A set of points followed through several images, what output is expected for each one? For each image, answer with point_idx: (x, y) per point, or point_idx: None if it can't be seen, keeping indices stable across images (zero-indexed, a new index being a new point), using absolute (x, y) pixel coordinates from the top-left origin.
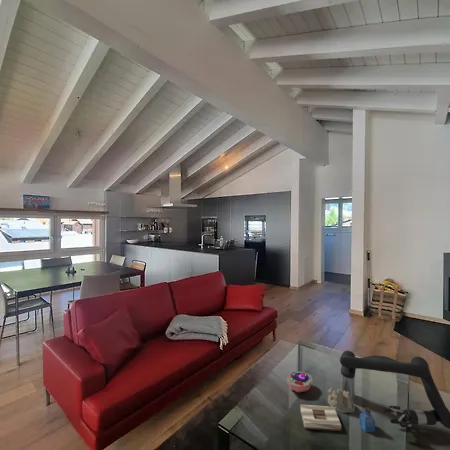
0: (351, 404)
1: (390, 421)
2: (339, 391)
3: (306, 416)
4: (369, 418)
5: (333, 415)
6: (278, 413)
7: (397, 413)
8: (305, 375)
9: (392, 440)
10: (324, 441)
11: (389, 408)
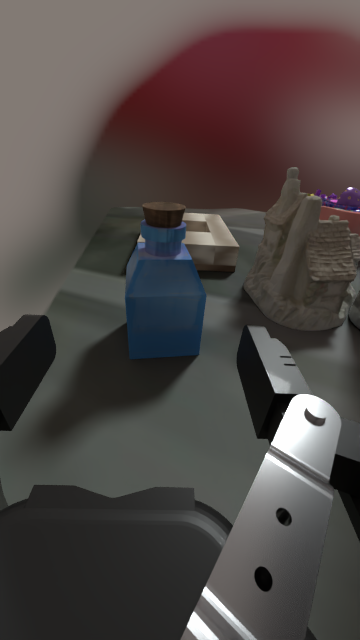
0: (298, 291)
1: (54, 343)
2: (286, 183)
3: None
4: (134, 259)
5: (187, 239)
6: None
7: (160, 502)
8: (350, 195)
9: (21, 436)
10: (103, 241)
11: (295, 387)
